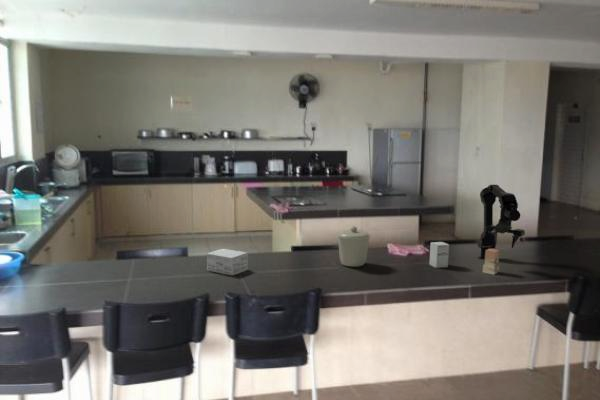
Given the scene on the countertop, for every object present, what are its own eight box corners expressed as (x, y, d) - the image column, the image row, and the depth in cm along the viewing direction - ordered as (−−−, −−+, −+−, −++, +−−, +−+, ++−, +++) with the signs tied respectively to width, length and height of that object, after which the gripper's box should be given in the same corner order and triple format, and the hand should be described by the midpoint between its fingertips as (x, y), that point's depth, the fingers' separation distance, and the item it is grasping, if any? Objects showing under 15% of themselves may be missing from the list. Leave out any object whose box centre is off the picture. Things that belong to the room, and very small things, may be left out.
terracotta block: (489, 255, 271) (489, 248, 271) (498, 257, 268) (499, 250, 267) (485, 257, 268) (485, 250, 267) (494, 259, 264) (495, 251, 264)
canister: (368, 270, 269) (369, 230, 266) (333, 267, 272) (334, 228, 269) (370, 261, 286) (371, 224, 283) (338, 259, 290) (339, 222, 287)
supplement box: (436, 268, 275) (437, 245, 273) (429, 264, 282) (430, 241, 280) (448, 267, 277) (449, 244, 275) (441, 263, 284) (442, 241, 282)
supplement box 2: (248, 269, 267) (248, 252, 265) (232, 276, 256) (232, 257, 254) (223, 264, 275) (223, 247, 274) (206, 270, 264) (206, 252, 263)
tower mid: (488, 263, 272) (489, 255, 271) (498, 265, 268) (498, 257, 268) (484, 265, 269) (485, 257, 268) (493, 267, 265) (494, 259, 264)
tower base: (487, 270, 273) (487, 262, 273) (498, 272, 269) (499, 265, 269) (482, 272, 269) (483, 265, 268) (493, 274, 265) (494, 267, 264)
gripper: (482, 216, 271) (480, 245, 274) (518, 222, 259) (515, 252, 261) (490, 214, 279) (488, 242, 282) (526, 219, 267) (523, 248, 269)
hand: (503, 246), depth 273 cm, fingers open, 9 cm apart
